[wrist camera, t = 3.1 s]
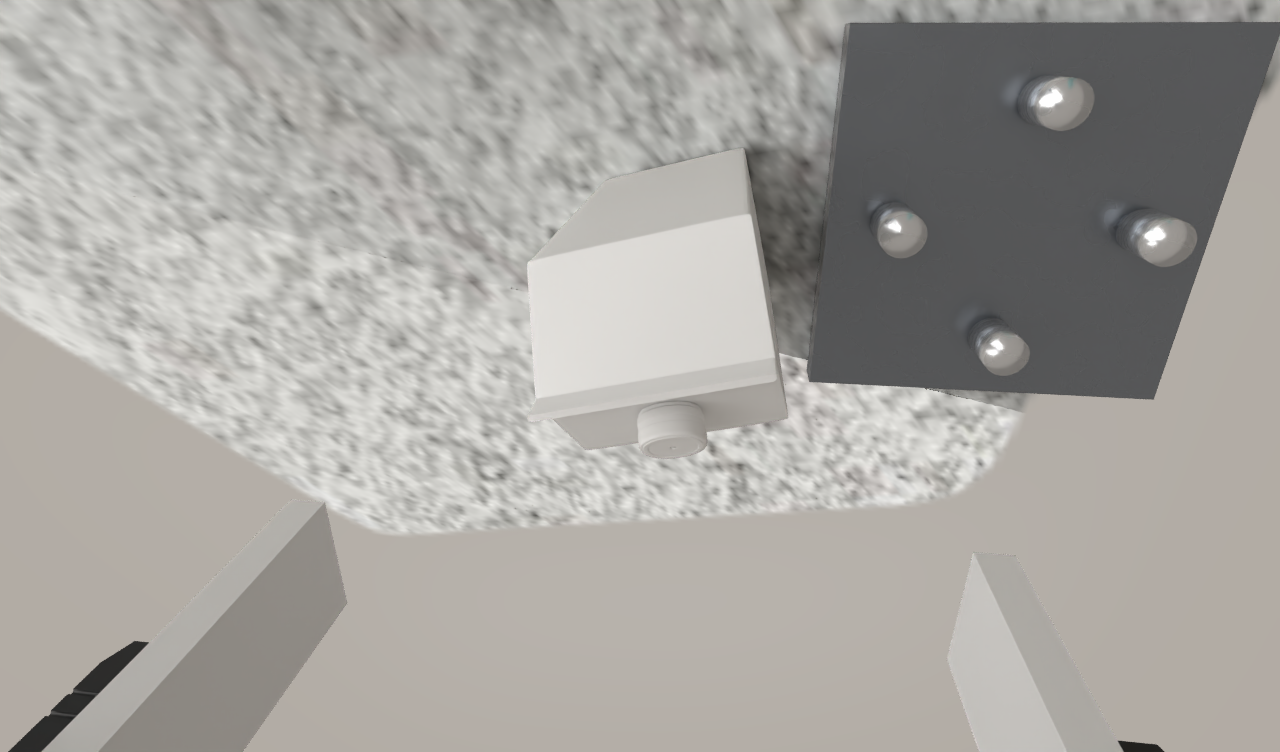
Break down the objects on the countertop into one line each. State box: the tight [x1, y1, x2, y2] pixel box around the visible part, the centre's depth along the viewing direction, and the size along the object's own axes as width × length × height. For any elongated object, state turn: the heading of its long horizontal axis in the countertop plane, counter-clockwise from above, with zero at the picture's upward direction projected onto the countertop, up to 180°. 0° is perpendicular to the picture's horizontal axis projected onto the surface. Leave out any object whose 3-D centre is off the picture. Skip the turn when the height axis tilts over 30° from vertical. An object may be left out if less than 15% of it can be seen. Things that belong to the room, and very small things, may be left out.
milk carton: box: [527, 148, 788, 459], centre depth 28 cm, size 7×7×19 cm
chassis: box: [807, 22, 1280, 399], centre depth 33 cm, size 17×17×4 cm
